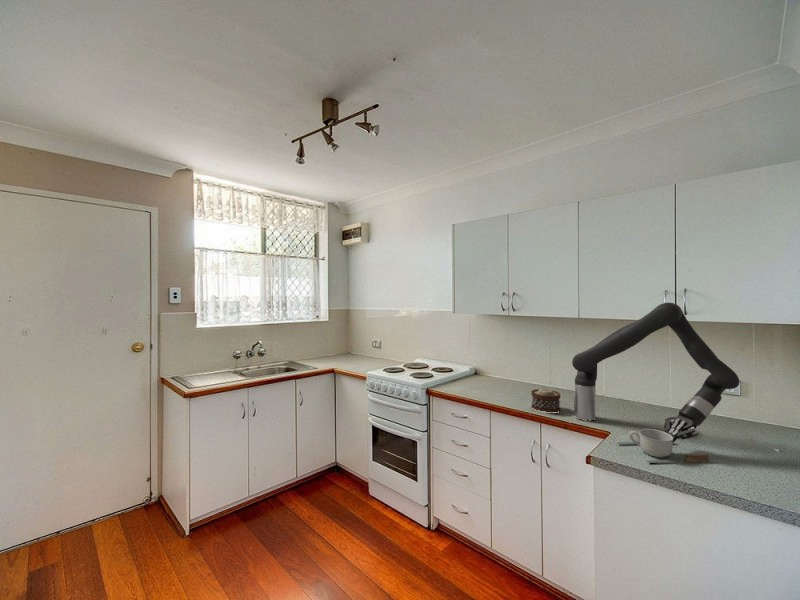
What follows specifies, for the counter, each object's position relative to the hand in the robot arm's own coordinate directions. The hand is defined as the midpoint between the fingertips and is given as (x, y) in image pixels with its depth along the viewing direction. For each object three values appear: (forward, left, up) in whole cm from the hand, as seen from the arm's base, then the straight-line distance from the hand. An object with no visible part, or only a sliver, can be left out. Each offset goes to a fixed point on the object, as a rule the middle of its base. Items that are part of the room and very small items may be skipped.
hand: (667, 442), depth 138 cm
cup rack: (0, +5, -4) cm, 6 cm away
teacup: (0, -7, -4) cm, 8 cm away
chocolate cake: (-54, -22, -4) cm, 59 cm away
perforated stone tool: (-19, +21, -4) cm, 28 cm away
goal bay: (0, -9, -4) cm, 10 cm away
